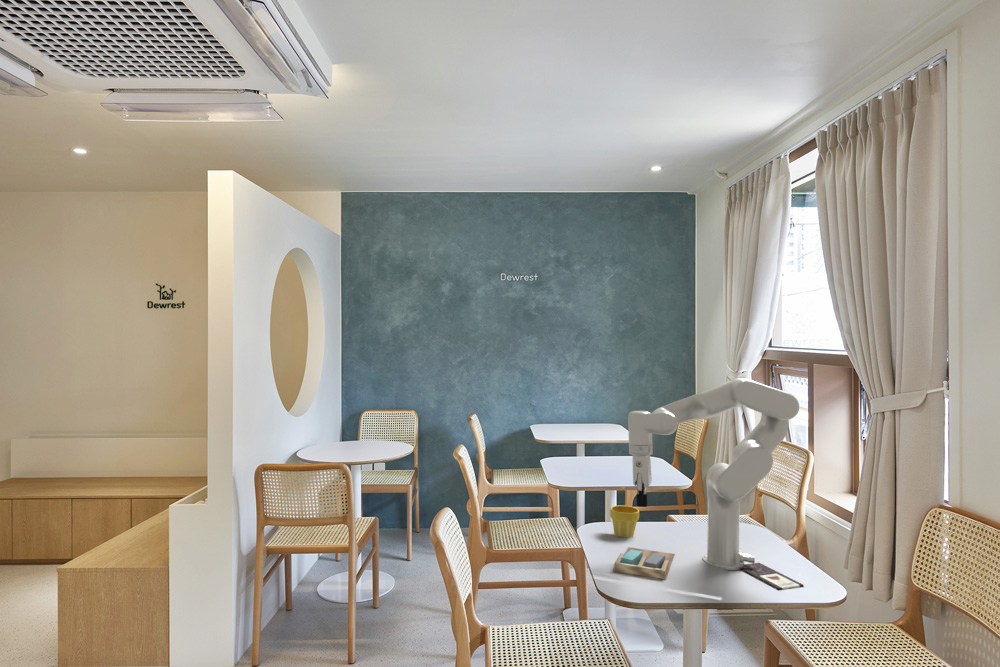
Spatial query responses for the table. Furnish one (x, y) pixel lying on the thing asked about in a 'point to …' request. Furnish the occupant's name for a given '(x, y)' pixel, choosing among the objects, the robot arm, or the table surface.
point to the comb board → (643, 570)
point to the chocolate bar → (770, 576)
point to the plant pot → (624, 520)
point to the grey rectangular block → (655, 561)
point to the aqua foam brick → (632, 557)
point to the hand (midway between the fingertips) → (642, 505)
